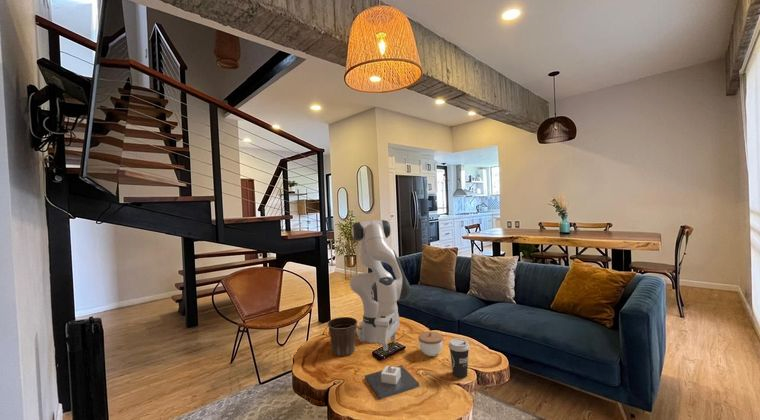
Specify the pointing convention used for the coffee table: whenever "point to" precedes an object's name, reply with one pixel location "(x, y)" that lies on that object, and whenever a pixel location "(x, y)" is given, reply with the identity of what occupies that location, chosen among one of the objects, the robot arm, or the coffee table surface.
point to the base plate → (388, 389)
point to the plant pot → (342, 335)
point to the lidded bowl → (430, 343)
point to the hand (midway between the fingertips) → (389, 345)
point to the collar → (391, 375)
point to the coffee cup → (459, 357)
